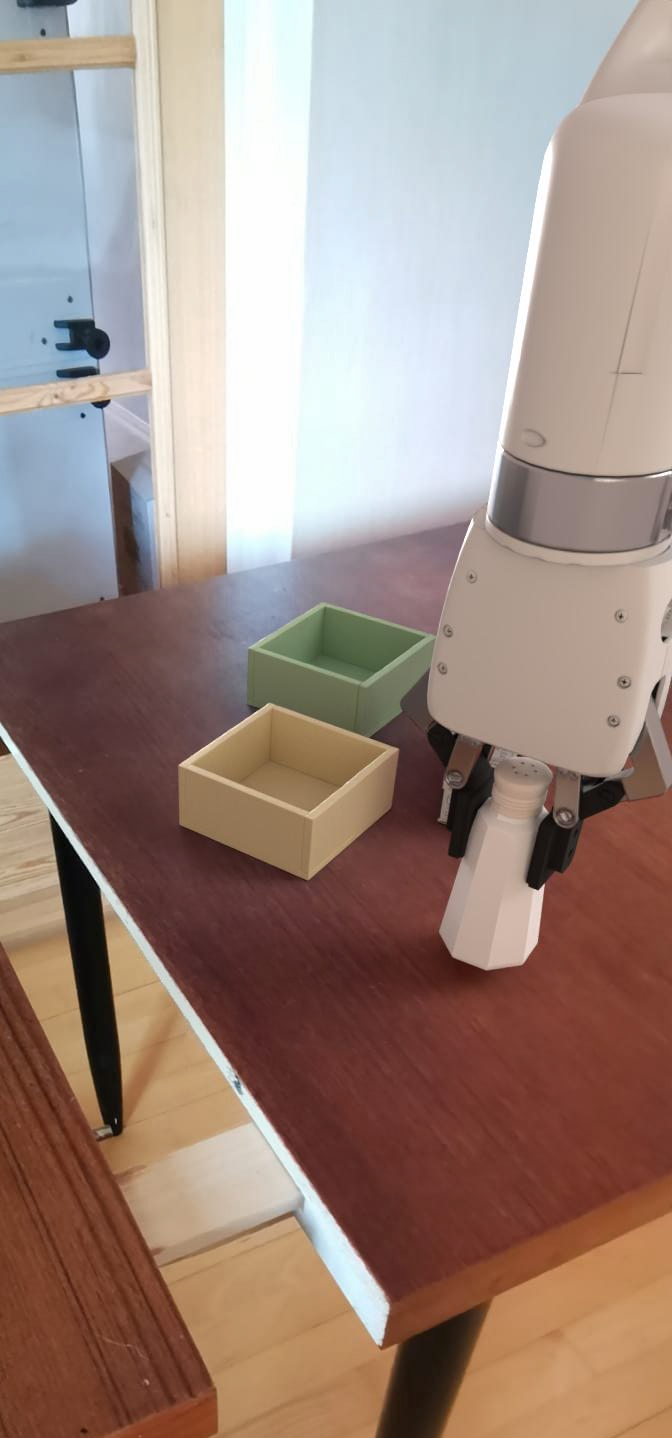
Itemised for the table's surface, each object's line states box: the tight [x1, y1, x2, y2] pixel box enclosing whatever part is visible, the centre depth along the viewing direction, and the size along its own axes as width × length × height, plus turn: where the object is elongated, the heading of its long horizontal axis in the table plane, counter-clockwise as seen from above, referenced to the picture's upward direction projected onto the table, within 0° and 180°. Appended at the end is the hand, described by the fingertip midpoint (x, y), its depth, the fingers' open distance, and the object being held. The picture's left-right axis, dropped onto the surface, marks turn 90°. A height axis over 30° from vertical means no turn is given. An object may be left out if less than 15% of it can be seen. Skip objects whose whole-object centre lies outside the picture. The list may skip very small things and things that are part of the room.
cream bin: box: [177, 703, 400, 881], centre depth 71 cm, size 10×10×4 cm
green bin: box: [246, 601, 437, 738], centre depth 83 cm, size 10×10×4 cm
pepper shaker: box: [438, 757, 554, 971], centre depth 57 cm, size 5×5×11 cm
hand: (505, 857), depth 57 cm, fingers closed on pepper shaker, 3 cm apart
